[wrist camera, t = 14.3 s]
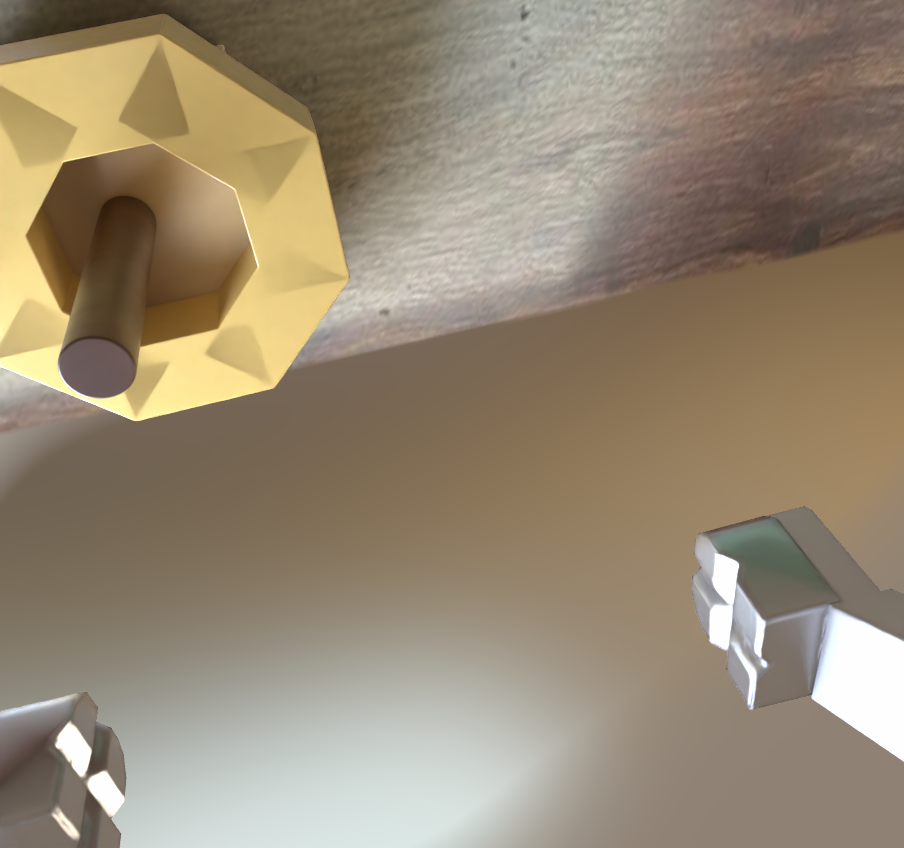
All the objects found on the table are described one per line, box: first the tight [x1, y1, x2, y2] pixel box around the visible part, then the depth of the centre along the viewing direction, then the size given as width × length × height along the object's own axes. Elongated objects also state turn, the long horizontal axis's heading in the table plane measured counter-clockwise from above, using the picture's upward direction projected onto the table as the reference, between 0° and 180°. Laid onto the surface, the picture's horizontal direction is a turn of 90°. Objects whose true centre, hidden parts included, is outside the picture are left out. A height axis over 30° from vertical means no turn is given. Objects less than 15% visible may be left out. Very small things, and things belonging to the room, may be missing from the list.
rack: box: [42, 45, 250, 399], centre depth 25 cm, size 9×9×11 cm
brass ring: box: [0, 14, 350, 421], centre depth 27 cm, size 12×12×3 cm
